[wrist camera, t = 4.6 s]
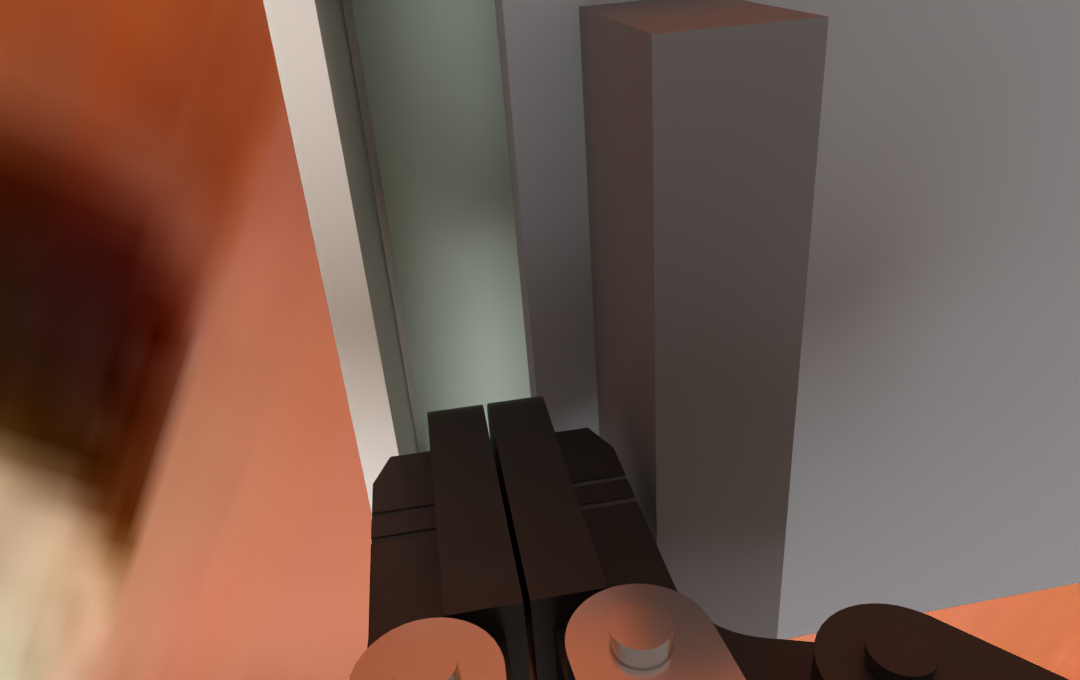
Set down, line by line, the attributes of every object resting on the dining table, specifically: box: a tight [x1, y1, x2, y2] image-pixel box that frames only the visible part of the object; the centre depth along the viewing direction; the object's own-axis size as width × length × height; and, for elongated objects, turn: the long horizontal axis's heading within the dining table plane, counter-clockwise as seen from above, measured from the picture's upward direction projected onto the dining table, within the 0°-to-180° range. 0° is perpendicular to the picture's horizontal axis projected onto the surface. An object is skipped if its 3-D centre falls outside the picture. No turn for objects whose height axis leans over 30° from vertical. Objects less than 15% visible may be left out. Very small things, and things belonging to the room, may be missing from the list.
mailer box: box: [263, 0, 531, 512], centre depth 16 cm, size 12×16×6 cm
